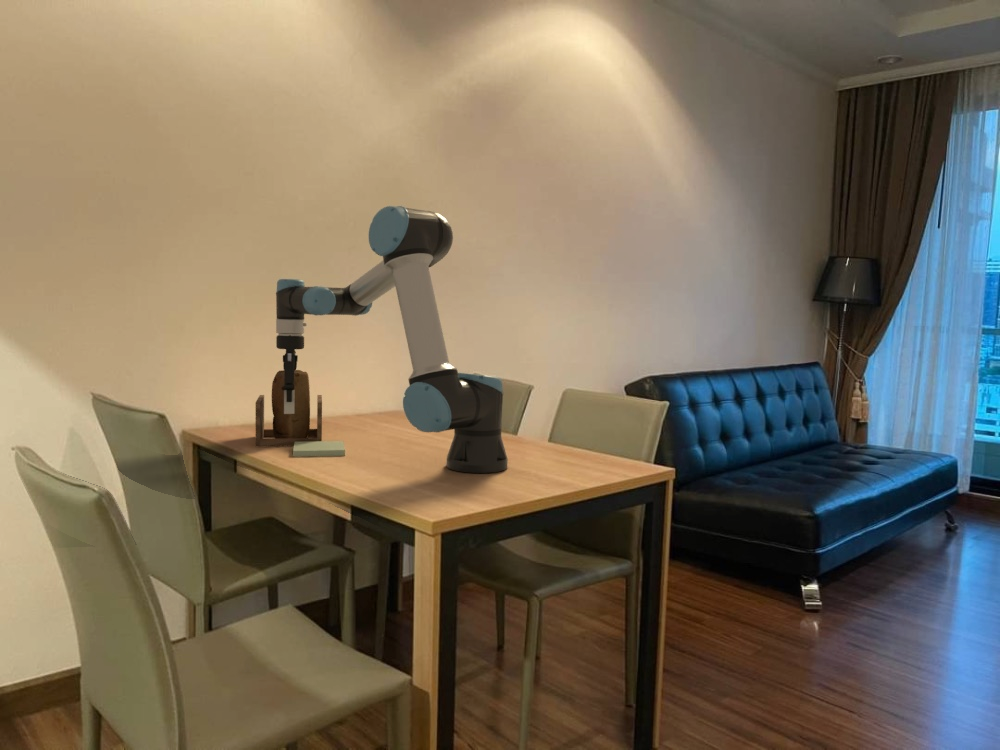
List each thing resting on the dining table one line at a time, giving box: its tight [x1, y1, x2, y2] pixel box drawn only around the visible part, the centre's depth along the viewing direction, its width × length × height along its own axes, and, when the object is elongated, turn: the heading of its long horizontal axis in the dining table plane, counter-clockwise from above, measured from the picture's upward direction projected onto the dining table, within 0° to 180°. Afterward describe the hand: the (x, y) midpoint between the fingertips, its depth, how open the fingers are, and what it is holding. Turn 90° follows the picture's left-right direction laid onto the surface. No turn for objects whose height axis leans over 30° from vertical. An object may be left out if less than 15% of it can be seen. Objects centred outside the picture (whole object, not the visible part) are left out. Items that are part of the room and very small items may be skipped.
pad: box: [292, 440, 346, 458], centre depth 206 cm, size 13×13×2 cm
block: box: [271, 369, 311, 438], centre depth 219 cm, size 11×8×20 cm
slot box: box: [255, 394, 323, 448], centre depth 219 cm, size 16×17×12 cm
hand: (290, 410), depth 219 cm, fingers open, 13 cm apart
